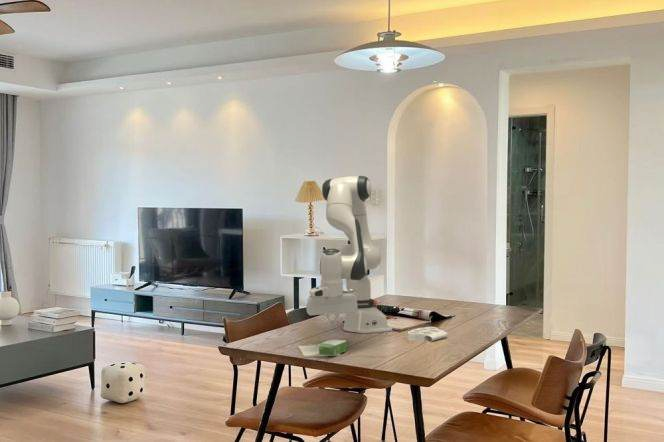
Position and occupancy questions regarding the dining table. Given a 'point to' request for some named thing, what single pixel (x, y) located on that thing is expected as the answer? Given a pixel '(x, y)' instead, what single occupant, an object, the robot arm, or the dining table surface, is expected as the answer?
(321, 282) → the robot arm
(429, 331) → the folded white cloth
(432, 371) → the dining table surface
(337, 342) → the ink box
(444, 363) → the dining table surface
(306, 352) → the mat
